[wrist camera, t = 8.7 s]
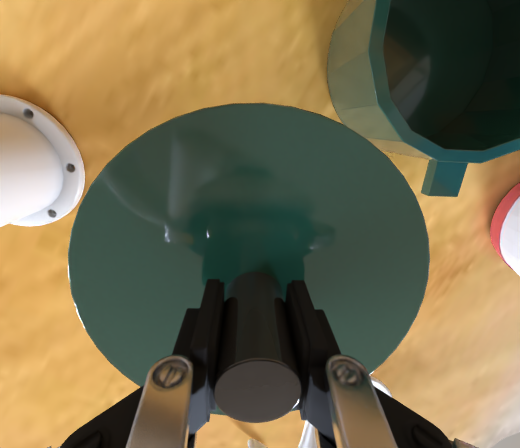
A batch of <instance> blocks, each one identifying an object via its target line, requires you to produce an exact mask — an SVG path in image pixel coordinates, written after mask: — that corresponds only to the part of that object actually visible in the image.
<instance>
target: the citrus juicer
mask: <svg viewBox="0 0 520 448" xmlns="http://www.w3.org/2000/svg"><path fill="white" fill-rule="evenodd" d="M490 236H491V241H492V244H493V246H494V248H495V250H496V251H497V253H498V254H499V255H500V257H501V258H502V259H503V261H504V262H505V263H506V264H507V265H508V266H509V267H510V268H511V269H513V270H514V271H515V272H516V273H517V274H518V275H519V276H520V182H519V183H518V184H517V185H516V186H515V187H514V188H512V189H511V190H510V191H509V192H508V193H507V195H506V196H505V197H504V198H503V199H502V201H501V202H500V204H499V206H498V207H497V209H496V211H495V213H494V216H493V218H492V223H491V227H490Z"/></svg>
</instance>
